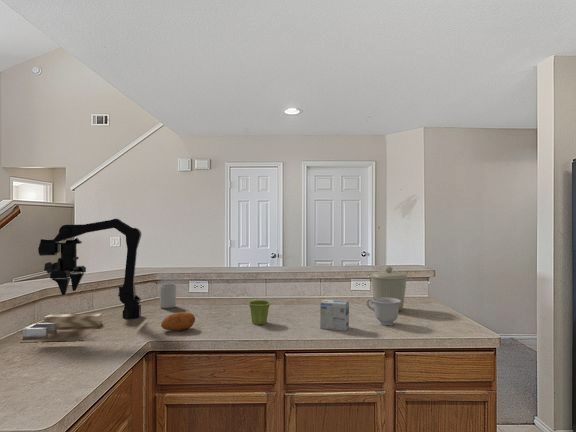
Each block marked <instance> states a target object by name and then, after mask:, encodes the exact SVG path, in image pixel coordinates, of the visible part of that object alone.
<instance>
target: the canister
mask: <svg viewBox="0 0 576 432" xmlns="http://www.w3.org/2000/svg"><path fill="white" fill-rule="evenodd" d="M369 276H370V279H371V287H372V299H373V298H378V297H388V298H395V299H399V300H401V302H400V304H399V310H398V312H399V311H401V310H402V309H403V306H404V304H405V303H404V302H405V295H406V286H407V279H408V277H409V276H408V275H406V274H405V273H403V272H398V271H393V267H391V266H389V265H387V266H385V267H384V271H382V270H381V271H375V272H373V273H371V274H370V275H369Z"/></svg>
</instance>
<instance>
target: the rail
mask: <svg viewBox="0 0 576 432" xmlns="http://www.w3.org/2000/svg"><path fill="white" fill-rule="evenodd" d="M102 322H103V313H73V314H72V313H67V314H65V313H62V314H60V313H59V314H58V313H57V314H47V315H45V316H44V317H43V323H57V327H90V326H98V327H100V326H101V325H103V323H102ZM99 325H100V326H99Z"/></svg>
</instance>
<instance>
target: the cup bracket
mask: <svg viewBox="0 0 576 432" xmlns="http://www.w3.org/2000/svg"><path fill="white" fill-rule="evenodd" d="M56 331H57V323H44V322H36V323H33V324H30V325H28V326H26V327H25V328H22V337H23V338H30V337H47V336H48V332H56ZM30 339H31V338H30Z"/></svg>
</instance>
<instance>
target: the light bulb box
mask: <svg viewBox="0 0 576 432" xmlns="http://www.w3.org/2000/svg"><path fill="white" fill-rule="evenodd" d="M349 302H350V301H349V300H337V299H336V300H335V299H323V300H321V301H320V304H319V305H320V311H319V312H320V314H319V315H320V316H319V317H320V322H319V325H320V326H319V328H320V329H322V330H333V331H342V332H343V331H345V332H346V331H347V330H348V329H349V328H350V306H349V305H350V303H349Z"/></svg>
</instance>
